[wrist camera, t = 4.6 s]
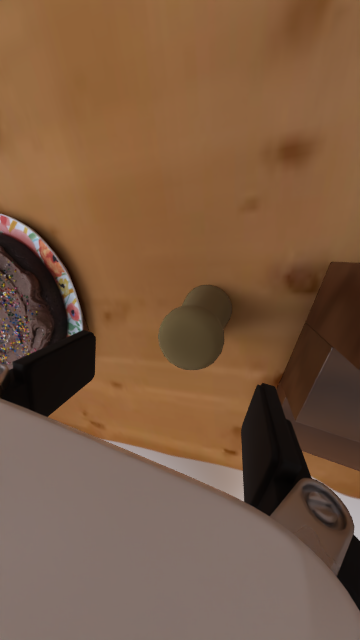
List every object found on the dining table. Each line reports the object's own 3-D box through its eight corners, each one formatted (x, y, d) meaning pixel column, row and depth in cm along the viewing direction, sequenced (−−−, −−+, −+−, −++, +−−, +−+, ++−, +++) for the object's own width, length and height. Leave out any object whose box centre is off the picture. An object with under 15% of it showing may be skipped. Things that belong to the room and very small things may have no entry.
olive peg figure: (235, 286, 22) (234, 310, 12) (228, 335, 24) (224, 390, 14) (184, 283, 23) (145, 301, 13) (182, 329, 25) (147, 374, 15)
